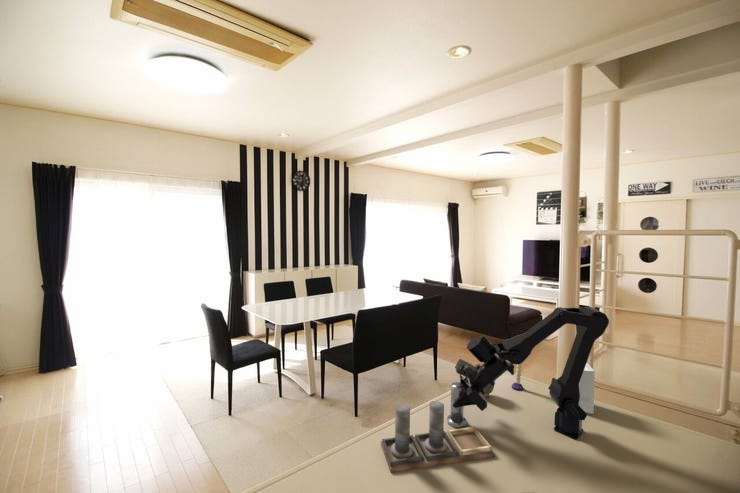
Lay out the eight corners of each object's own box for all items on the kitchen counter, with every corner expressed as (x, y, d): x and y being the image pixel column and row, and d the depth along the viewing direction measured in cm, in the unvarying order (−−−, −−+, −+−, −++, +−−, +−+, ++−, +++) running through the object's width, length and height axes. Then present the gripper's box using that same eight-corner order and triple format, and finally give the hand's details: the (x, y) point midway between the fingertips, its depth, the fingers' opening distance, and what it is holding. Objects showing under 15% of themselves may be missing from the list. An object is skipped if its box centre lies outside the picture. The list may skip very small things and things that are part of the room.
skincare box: (594, 414, 112) (596, 372, 111) (573, 411, 114) (576, 369, 112) (586, 401, 120) (588, 361, 119) (567, 398, 122) (569, 359, 120)
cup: (497, 401, 120) (498, 380, 119) (477, 401, 120) (477, 379, 119) (490, 390, 127) (491, 370, 126) (471, 390, 127) (471, 370, 127)
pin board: (473, 431, 103) (475, 389, 102) (493, 456, 92) (495, 410, 91) (380, 444, 97) (380, 400, 96) (390, 472, 86) (391, 423, 85)
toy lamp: (524, 386, 130) (526, 345, 129) (525, 392, 126) (527, 349, 125) (511, 384, 132) (512, 343, 131) (511, 390, 128) (513, 348, 126)
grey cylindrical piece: (469, 422, 107) (471, 385, 106) (459, 430, 103) (460, 392, 102) (454, 414, 112) (455, 378, 111) (443, 421, 108) (444, 384, 107)
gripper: (466, 342, 114) (433, 371, 116) (477, 366, 96) (437, 400, 98) (489, 365, 114) (455, 394, 116) (504, 394, 95) (463, 427, 98)
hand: (452, 402), depth 107 cm, fingers closed on grey cylindrical piece, 4 cm apart
